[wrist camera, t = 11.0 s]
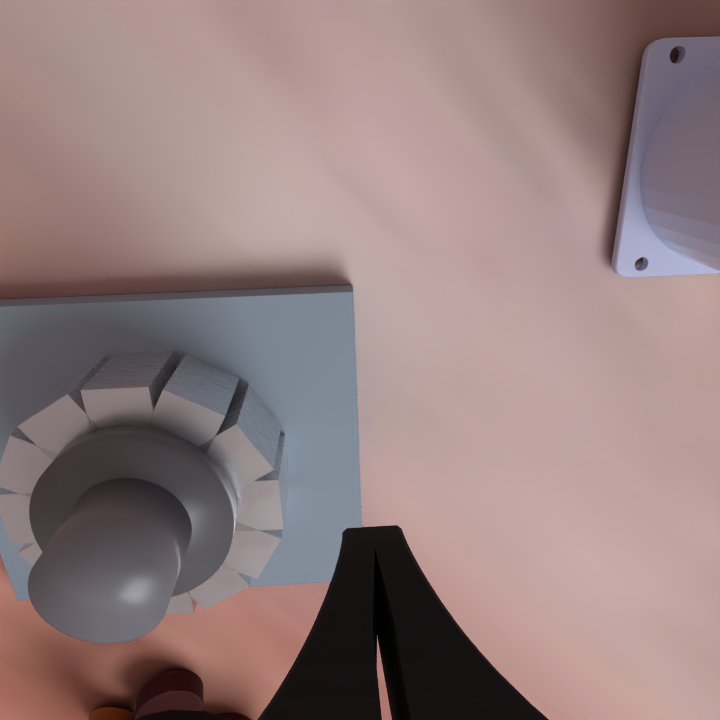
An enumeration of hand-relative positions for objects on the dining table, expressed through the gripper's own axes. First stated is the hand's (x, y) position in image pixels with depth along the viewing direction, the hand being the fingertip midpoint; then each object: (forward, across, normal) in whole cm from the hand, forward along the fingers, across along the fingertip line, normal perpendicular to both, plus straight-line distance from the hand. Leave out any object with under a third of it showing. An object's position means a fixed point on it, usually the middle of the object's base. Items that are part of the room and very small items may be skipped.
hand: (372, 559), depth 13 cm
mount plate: (+10, +8, +3) cm, 13 cm away
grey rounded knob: (+9, +8, +3) cm, 13 cm away
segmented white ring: (+10, +8, +3) cm, 13 cm away
